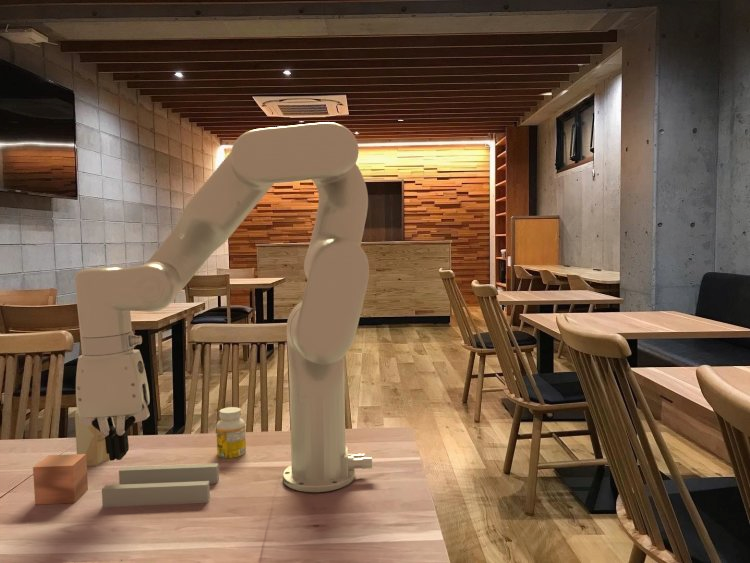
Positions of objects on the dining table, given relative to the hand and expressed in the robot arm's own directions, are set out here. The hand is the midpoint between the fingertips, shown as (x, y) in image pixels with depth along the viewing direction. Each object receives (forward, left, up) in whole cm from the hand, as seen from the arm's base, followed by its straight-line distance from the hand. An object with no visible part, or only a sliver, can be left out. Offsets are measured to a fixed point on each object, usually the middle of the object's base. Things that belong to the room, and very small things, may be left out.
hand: (118, 456), depth 95 cm
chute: (-3, 0, -7) cm, 8 cm away
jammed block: (+9, 0, -6) cm, 11 cm away
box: (+10, -16, -8) cm, 20 cm away
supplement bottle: (-15, -17, -8) cm, 24 cm away
